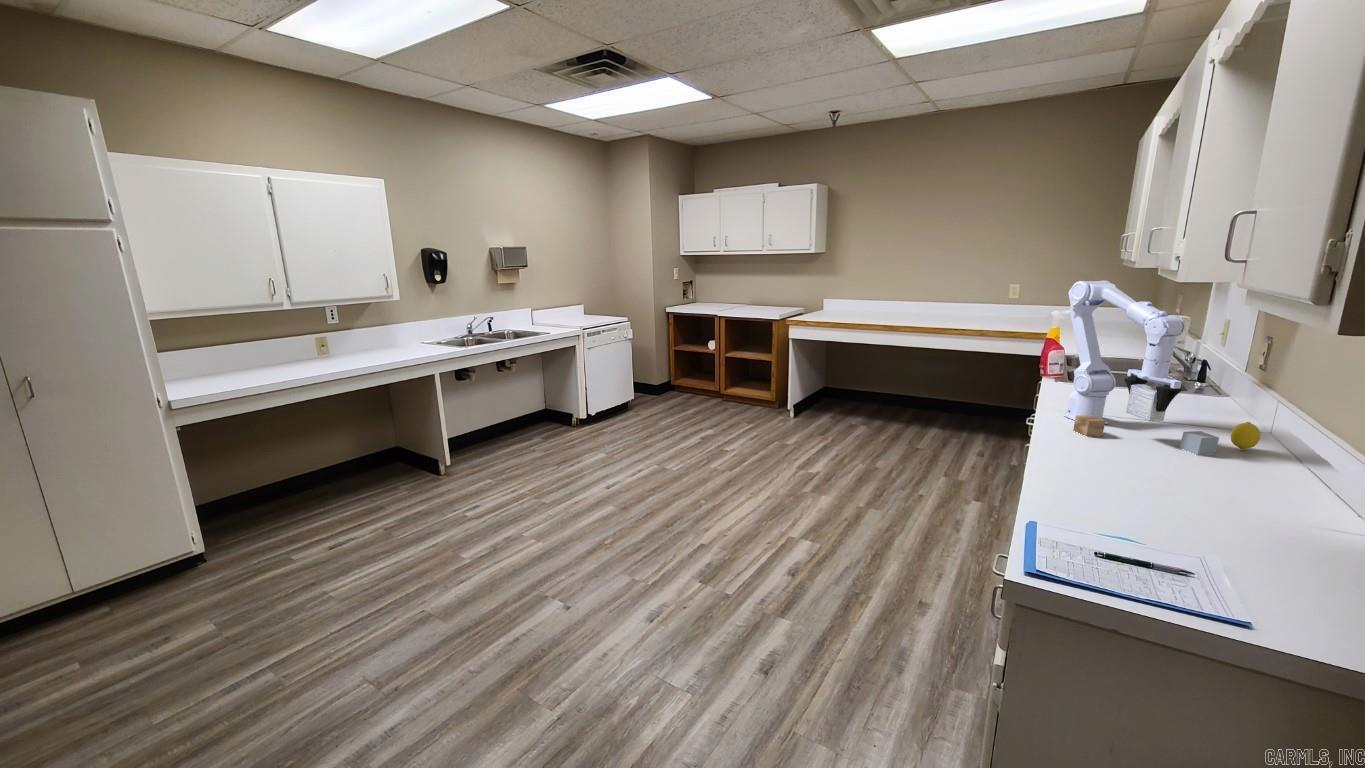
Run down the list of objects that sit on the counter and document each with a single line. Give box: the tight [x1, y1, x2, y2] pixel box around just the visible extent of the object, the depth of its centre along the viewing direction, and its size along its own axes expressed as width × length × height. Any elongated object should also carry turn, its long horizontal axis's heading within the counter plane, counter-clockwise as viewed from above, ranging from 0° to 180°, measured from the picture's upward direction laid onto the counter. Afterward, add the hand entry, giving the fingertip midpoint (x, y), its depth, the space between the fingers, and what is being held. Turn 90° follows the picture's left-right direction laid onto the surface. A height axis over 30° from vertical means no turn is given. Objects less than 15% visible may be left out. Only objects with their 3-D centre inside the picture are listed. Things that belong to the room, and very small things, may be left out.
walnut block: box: [1072, 415, 1106, 437], centre depth 162 cm, size 5×5×5 cm
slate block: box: [1179, 430, 1220, 456], centre depth 148 cm, size 5×5×5 cm
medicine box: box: [1125, 383, 1167, 422], centre depth 154 cm, size 8×4×9 cm, turn 3°
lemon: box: [1230, 421, 1261, 451], centre depth 148 cm, size 6×6×8 cm
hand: (1147, 406), depth 155 cm, fingers closed on medicine box, 7 cm apart
